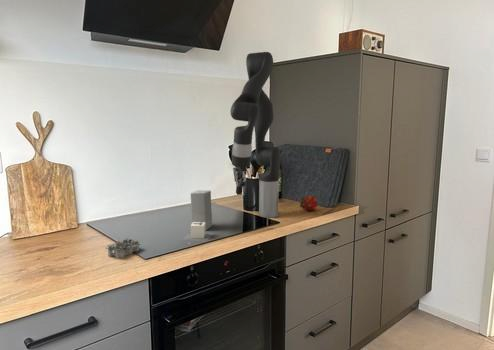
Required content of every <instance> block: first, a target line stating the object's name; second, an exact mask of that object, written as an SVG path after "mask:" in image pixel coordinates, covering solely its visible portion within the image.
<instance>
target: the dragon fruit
mask: <svg viewBox="0 0 494 350" xmlns="http://www.w3.org/2000/svg"><path fill="white" fill-rule="evenodd" d="M299 205H300V208H302V209H303V210H304V211H305V210H307V211H306V212H308V211H312V212H313V211H315V210H316V208H317V207H318V205H319V203H318V198H317V197H315V196H314V195H305V196H302V197H301V198H300V201H299Z"/></svg>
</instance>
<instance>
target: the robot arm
mask: <svg viewBox="0 0 494 350" xmlns="http://www.w3.org/2000/svg"><path fill="white" fill-rule="evenodd" d="M245 63H246V64H245V65H246V72H247V76H248V80H247V81H246V83H245V84H244V86H243V88H242V91H241V93H240V95H239V96H238V97H237V98H236V99H235V100H234V102H233V103H232V105H231V107H230V116H231V118H232V119H233V120H234V121H241V122H247V124H246V125H241V126H236V127H235V128H234V132H233V144H232V150H231V165H232V166H233V168H232V171H233V176H234V178H233V179H234V183H235V185H236V186H235V187H236V188H235V194H236V195H237V196H241V195H243V189H244V188H243V187H246V184H247V183H248V181H249V178H248V176H247V173H248V170H247V168H249V167H250V166H251V164H252V152H253V151H252V150H253V149H252V148H253V146H252V145H253V142H252V141H253V133H254V137H255V140H254V144H255V161H256V164H257V165H259V166H263V167H269V170H268V171H265V172H263V173H259V176H258V177H259V178H258V179H259V182H258V187H259V189H258V216H259V217H262V218H269V219H270V218H277V217H278V216H279V190H280V189H279V183H280V182H279V180H280V179H279V178H280V169H281V168H280V167H281V150H280V148H279V147H278V146H267V145H265V144H266V143H265V141H266V135H267V133H268V131H269V130H270V128H271V126H272V124H273V122H274V109H273V101H272V100H271V99H270V98H269V96H268V95H267V94H266V92H265V91H264V90H263V88H264V85H265V84H266V82H267V81H268V79H269V78H270V76H271V75H272V72H273V69H274V58H273V55H272V53H271V52H269V51H262V52H252V53H251V52H250V53H248V54H247V55H246V60H245ZM246 176H247V177H246Z"/></svg>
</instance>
